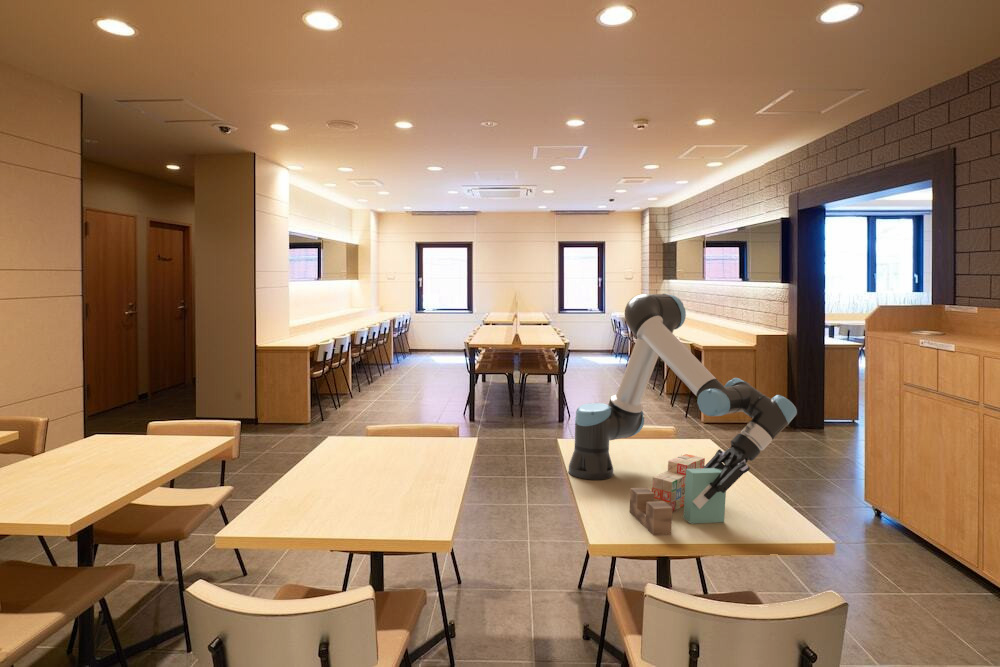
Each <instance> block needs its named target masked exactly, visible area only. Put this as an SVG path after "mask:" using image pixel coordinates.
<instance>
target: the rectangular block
mask: <svg viewBox="0 0 1000 667" xmlns="http://www.w3.org/2000/svg"><path fill="white" fill-rule="evenodd" d="M721 471H722V469H720V468H699V469H686V480H685V499H684V506H683V517H682V518H683V519H684V520H685V521H687V522H688V523H689V524H707V523H708V524H709V523H711V524H712V523H713V524H714V523H725V514H726V513H725V512H726V497H727V496H726V494H727V490H726V491H725V492H724V493H722V492H721V491H720V492H716V493H715V495H714V496H713V497H712V498H711V499H709V500H708V501H707V502H706V503H705V504H704V505H703V506H702V507H701V508H700V509H699V508H698V507H697V506H696V505H695V504H694V503H693V502H692V501H693V500H694V499H695V498H696V497H697V496H698V495H699V494H700V493H701V492H702V491H703V490H704V489H705V488H706V487H707V486H708V485H710V482H711V483H713V482H714V481H715V479H716V478H717V477H718V475H719V474H720V473H721ZM710 486H711V485H710ZM711 487H712V486H711ZM723 487H724V486H723Z"/></svg>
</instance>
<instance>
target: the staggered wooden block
mask: <svg viewBox="0 0 1000 667" xmlns="http://www.w3.org/2000/svg"><path fill="white" fill-rule="evenodd" d="M654 496H655V493H653V492H652V489H651V488H650V489H649V488H648V487H631V488H630V494H629V513H630V514H631V515H632V516H633V517H634V518H635V519H636V520H637V521H638V522H639V523H640V524H641V525H642V526H643V527H644V526H645V527H646V528H647V529H648V530H647V529H646V528H645V527H644V528H645V529H646V530H647V531H649V533H650V534H651V535H653V536H658V535H659V536H660V535H662V536H663V535H671V534H672V526H673V525H672V524H673V511H672V507H671V506H669V505H668V504H667V503H666V502H664V501H656V502H654Z"/></svg>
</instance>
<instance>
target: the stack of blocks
mask: <svg viewBox="0 0 1000 667" xmlns="http://www.w3.org/2000/svg"><path fill="white" fill-rule="evenodd" d="M705 465H706V464H705V457H703V456H697V455H693V454H687V453H686V454H683V455H682V454H681V455H679V456H677V457H674V458H672V459H670V460H668V461H667V470H666V471H664V472H662V473H659V474H657V475H655V476H652V488H651V491H652V492H653V493H655V496H654V502H656V501H664V502H666V503H667V504H668V505H669V506H671V507H672V512H674V511H677V510H679V509H680V508H682V507H684V499H685V496H684V495H685V480H686V469H699V468H703V467H704V466H705Z"/></svg>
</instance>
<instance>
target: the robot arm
mask: <svg viewBox="0 0 1000 667" xmlns="http://www.w3.org/2000/svg"><path fill="white" fill-rule="evenodd" d="M686 316H687V312H686V308H685V306H684V303H683V302H682V300H681V299H680V298H679V297H678V296H676V295H673V294H669V293H641V294H637V295H634V296H633V297H632V298H631V299H629V301H628V302H627V304H626V306H625V309H624V320H625V323H626V326H627V327H628V328H629V330H630V332H632V334H633V335H634V336H635V337H636V341H635V344H634V346H633V350H632V351H631V354H630V358H629V360H628V363H627V366H626V367H625V368H626V369H625V371H624V373H623V377H622V379H621V382H620V384H619V387H618V390H617V393H616V394H612V395H611V397H610V399H609V401H608V404H606V403H602V402H594V403H592V402H591V403H584V404H582V405H580V406H578V408H577V409H576V411H575V417H574V422H575V423H574V449H573V450H574V451H573V452H572V456H571V458H570V461H569V463H568V474H570V475H571V476H573V477H575V478H579V479H584V480H589V481H590V480H599V481H600V480H606V479H610V478H612V477H614V465H613V463H612V459H611V455H610V441H614V440H620V439H627V438H631V437H633V436H635V435H638V433H640V432H641V430H642V429H643V427H644V424H645V416H644V415H645V414H644V408H643V405H642V403H641V402H642V399H643V397H644V394H645V392H646V390H647V388H648V384H649V381H650V379H651V377H652V375H653V374H652V373H653V372H654V369H655V366H656V364H657V362H658V359H659V358H660V359H661V361H663V363H665V364H666V366H668V367H669V368H670V370H672V372H673V373H674V374H675V375H676V376H677V377H678V379H680V380H681V381H682V382H683V384H684V385H685V386H686V387H687V388H688V389H689V390H690V391H691V392H692V393H693V394H694V395H695V396H696V398H697V402H696V403H697V405H698V409H699V411H700V412H701V413H702V414H704V415H705V416H707V417H722V416H724V415H729V414H736V413H741V412H742V413H743V414H745V415H747V416H748V417H750V418H751V420H750V421H749V422H748V423H747V424H746V425H745V427H743V429H741V431H740V433H737V434H736V435H735V436H734V438H732V439H731V441H730V446H731V447H729V448H727V449H726V450H725V451H724V450H722V449H721V448H720V449H717V450H716V453H715V454H714V455H713V457H712V458H711V459H710V460H709V461H708V462H707V463H706V464H704V467H703V468H720V469H722V471H721V473H720V474H719V475H718V477H717V478H716V479H715V481H714V482H713V483H711V482H710V485H711V486H712V487H711V486H710V485H708V486H707V487H706V488H705V489H704V490H703V491H702V492H701V493H700V494H699V495H698V496H697V497H696V498H695V499H694V500H693V501H692V502H693V503H694V504H695V505H696V506H697V507H698V508H699V509H700V508H701V507H702V506H703V505H704V504H705V503H706V502H707V501H708V500H709V499H711V498H712V497H713V496H714V495H715V493H716V492H720V491H721V492H722V493H724V492H725V491H726V492H727V490H729V488H731V487H732V486H733V485H734V484H735V483H736V482H737V481H738V480H739V479H740V478H741V477H742V476H743V475H744V474H746V473H748V472H749V471H750V470H751V469H750V466H749V465H748V464H747V463H748V462H753V461H754V460H755V459H756V458H757V457H758V456H759V455H760V454H761V451H764V450H765V449H766V448H767V447H768V446H769V445H770V443H772V442H773V440H774V439H775V438H777V436H778V435H779V434H780V433H781V432H782V431H783V430H785V428H786V427H787V426H788V425H790V423H791V422H792V420H793V419H794V418H795V417H796V416H797V415H798V409H797V407H796V406H795V405H794V403H793V402H792V401H791V400H790V399H788V398H787V397H785V396H783V395H780V394H776V395H775V396H773V397H772V398H771V397H769V396H767V395H766V394H764V393H762V392H761V391H760V390H758V389H756V387H754V386H752V385H751V384H750V383H748V382H747V381H744V380H743V379H741V378H738V377H733V378H732V379H731V380H728V381H726V383H725V385H723V384H722V382H720V380H718V379H717V378H716V376H714V375H713V374H712V373H711V371H710V370H709V369H707V367H706V366H705V365H704V364H702V362H701V361H700V360H699V359H698V358H697V357H696V356H695V355H694V354H693V353H692V352H691V351H690V350H689V349H688V347H686V345H684V344H683V343H682V341H680V339H678V337H677V336H676V335H675V334H674V331H675V330H678V329H680V328H681V327H682V326H683V324H684V323H685V320H686ZM723 486H724V487H723ZM684 496H685V495H684Z"/></svg>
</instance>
